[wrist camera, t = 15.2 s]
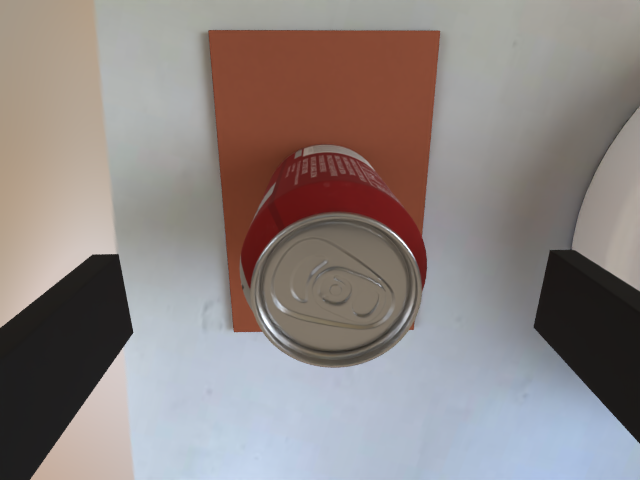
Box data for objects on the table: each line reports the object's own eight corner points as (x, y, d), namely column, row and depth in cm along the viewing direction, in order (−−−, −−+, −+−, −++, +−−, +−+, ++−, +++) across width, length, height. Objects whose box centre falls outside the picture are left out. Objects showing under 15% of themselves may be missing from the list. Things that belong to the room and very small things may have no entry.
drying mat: (209, 31, 22) (208, 30, 21) (438, 31, 22) (440, 30, 22) (234, 329, 28) (233, 332, 27) (412, 326, 28) (413, 330, 28)
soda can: (295, 121, 23) (281, 154, 12) (402, 173, 24) (483, 248, 13) (249, 226, 25) (199, 341, 14) (349, 269, 26) (379, 408, 15)
